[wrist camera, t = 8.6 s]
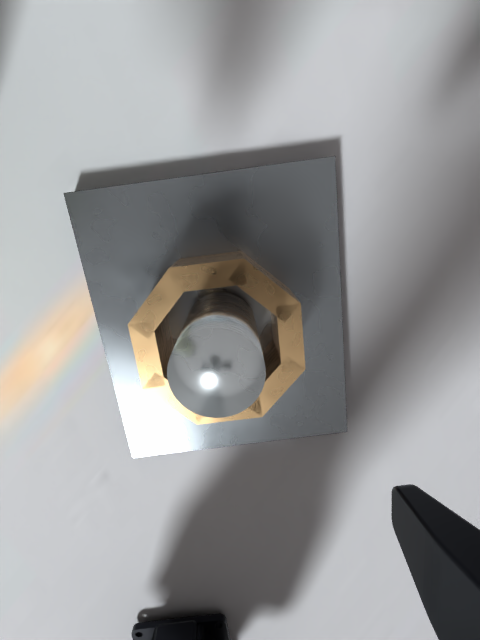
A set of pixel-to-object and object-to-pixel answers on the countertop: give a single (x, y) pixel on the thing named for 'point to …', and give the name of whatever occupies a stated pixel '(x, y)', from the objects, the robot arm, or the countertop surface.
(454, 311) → the countertop surface
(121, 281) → the grey peg base
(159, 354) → the wooden ring
